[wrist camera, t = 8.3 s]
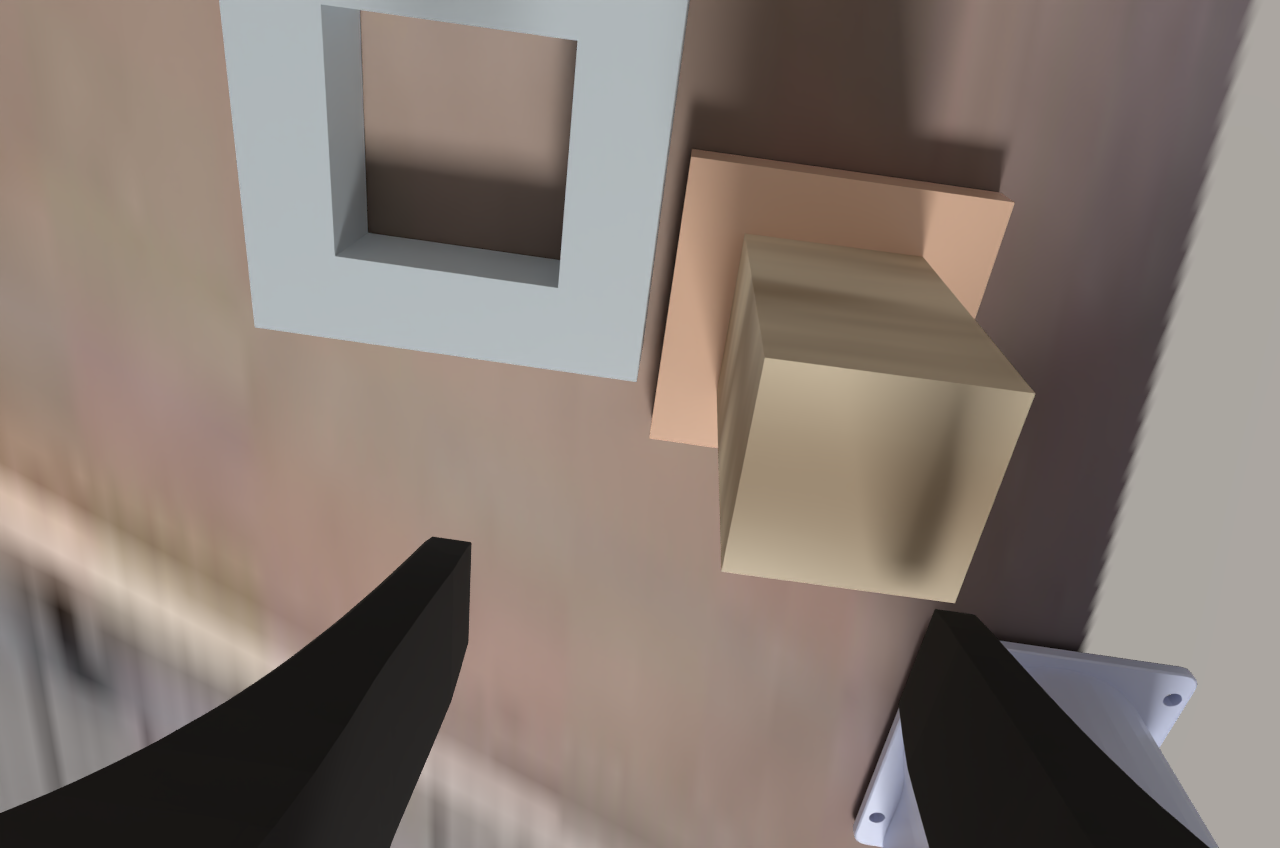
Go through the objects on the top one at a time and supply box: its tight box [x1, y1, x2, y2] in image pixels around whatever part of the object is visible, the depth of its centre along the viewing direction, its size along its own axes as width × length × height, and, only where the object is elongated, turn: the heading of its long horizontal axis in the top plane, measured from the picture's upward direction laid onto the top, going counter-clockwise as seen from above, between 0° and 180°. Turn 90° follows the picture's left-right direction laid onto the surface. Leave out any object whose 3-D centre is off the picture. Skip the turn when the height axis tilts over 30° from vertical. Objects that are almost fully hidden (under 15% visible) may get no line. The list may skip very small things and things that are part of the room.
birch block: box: [717, 233, 1035, 603], centre depth 16 cm, size 4×4×7 cm
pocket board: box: [219, 0, 690, 382], centre depth 18 cm, size 9×9×2 cm
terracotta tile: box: [649, 149, 1015, 448], centre depth 20 cm, size 7×7×1 cm
